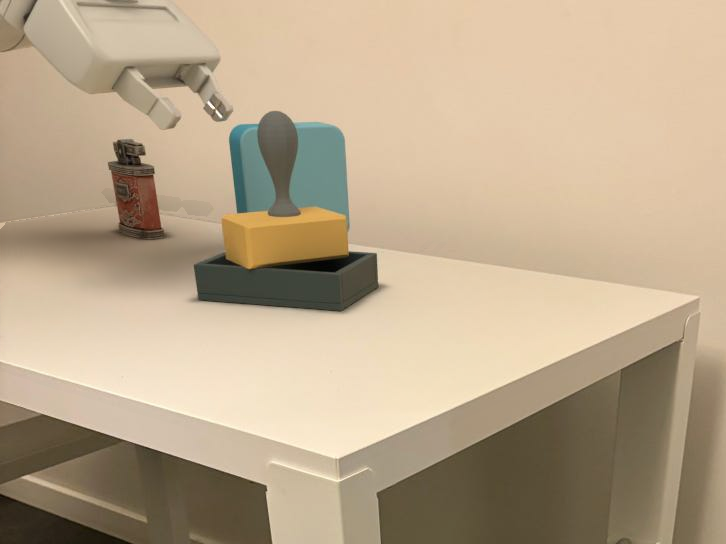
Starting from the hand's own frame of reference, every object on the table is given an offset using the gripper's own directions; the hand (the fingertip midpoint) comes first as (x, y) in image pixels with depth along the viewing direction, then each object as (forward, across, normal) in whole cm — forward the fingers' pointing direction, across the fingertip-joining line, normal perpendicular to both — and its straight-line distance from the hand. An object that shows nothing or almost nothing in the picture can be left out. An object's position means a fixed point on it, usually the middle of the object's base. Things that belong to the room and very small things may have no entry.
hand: (201, 120), depth 86 cm
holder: (+15, 0, -5) cm, 16 cm away
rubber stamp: (+13, -1, -3) cm, 13 cm away
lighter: (-6, -23, -26) cm, 35 cm away
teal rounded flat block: (+8, -25, -12) cm, 29 cm away
